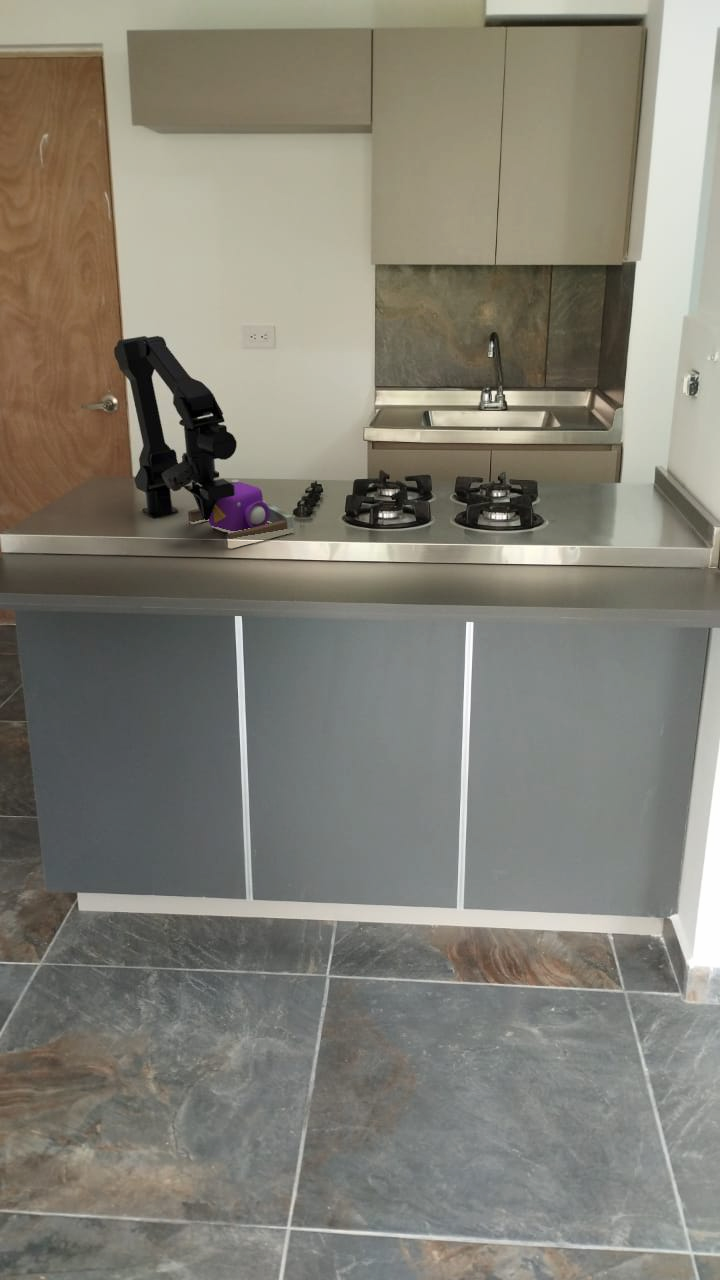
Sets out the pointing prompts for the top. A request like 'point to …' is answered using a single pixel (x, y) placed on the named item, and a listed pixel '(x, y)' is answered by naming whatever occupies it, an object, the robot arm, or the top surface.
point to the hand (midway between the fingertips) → (206, 519)
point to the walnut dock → (276, 516)
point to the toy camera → (240, 509)
